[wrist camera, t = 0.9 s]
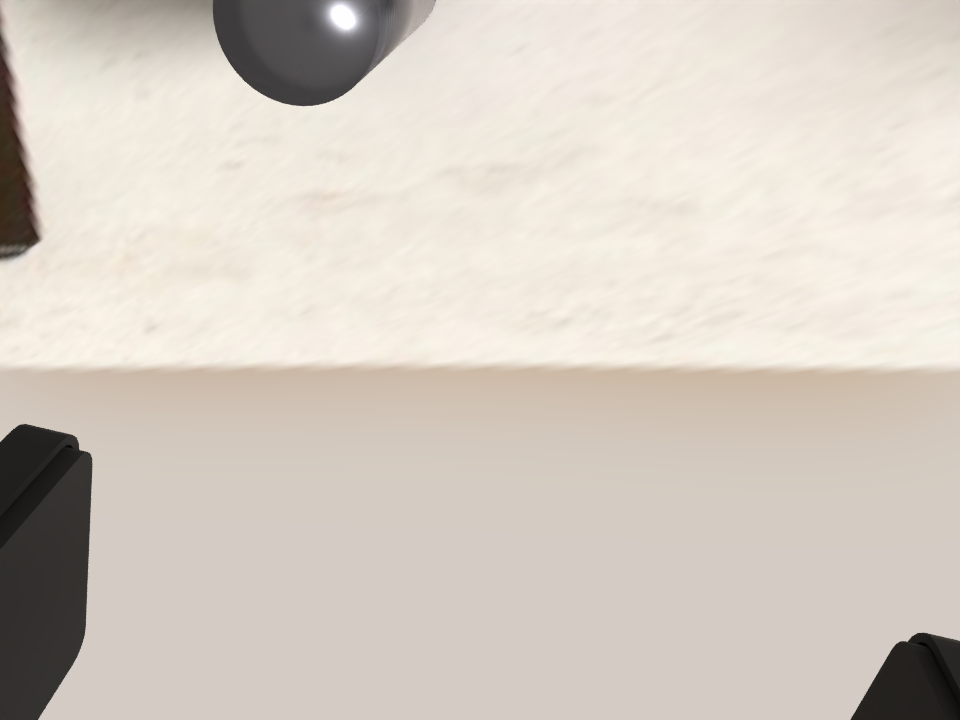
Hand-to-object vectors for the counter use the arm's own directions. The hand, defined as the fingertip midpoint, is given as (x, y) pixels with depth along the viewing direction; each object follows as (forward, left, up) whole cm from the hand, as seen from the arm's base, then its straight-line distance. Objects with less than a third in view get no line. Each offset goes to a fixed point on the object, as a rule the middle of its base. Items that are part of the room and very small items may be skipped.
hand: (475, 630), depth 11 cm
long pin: (-3, -7, -27) cm, 28 cm away
